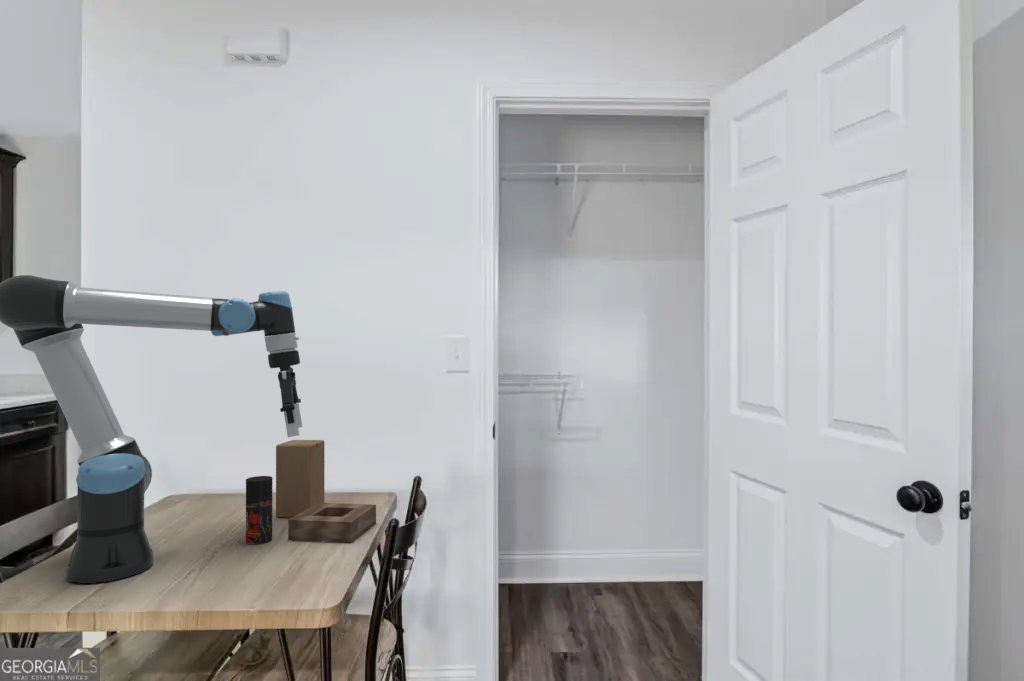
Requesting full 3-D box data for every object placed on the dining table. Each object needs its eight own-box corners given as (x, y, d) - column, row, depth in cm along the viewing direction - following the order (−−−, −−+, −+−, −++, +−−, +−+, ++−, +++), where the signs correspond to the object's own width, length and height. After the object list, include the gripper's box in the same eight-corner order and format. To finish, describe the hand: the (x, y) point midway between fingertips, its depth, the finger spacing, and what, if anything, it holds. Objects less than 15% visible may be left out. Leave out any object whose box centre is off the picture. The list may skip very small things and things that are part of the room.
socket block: (288, 540, 142) (288, 519, 143) (319, 521, 158) (319, 502, 158) (351, 543, 140) (351, 522, 140) (376, 523, 156) (376, 504, 156)
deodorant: (277, 539, 143) (277, 477, 144) (255, 546, 138) (255, 482, 139) (262, 535, 147) (262, 474, 147) (240, 541, 142) (240, 479, 142)
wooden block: (325, 508, 171) (325, 439, 171) (310, 518, 161) (310, 445, 161) (292, 508, 172) (292, 439, 172) (275, 517, 162) (275, 444, 162)
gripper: (294, 350, 141) (308, 437, 142) (300, 348, 165) (312, 422, 166) (261, 355, 139) (275, 443, 140) (272, 352, 163) (284, 427, 164)
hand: (295, 431), depth 153 cm, fingers open, 13 cm apart
